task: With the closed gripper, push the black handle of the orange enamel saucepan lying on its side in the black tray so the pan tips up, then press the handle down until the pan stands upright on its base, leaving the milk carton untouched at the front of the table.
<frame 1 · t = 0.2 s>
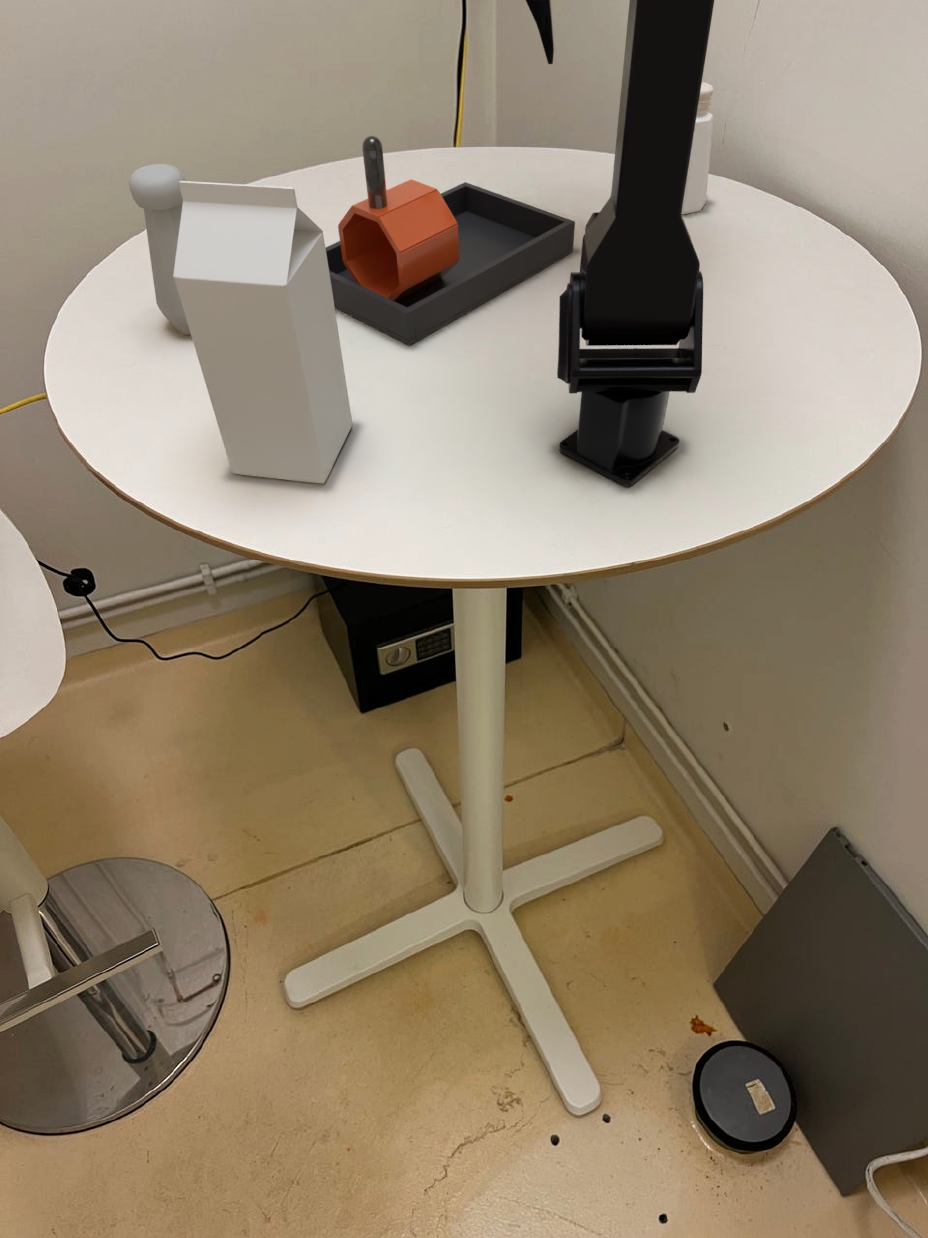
hand: (603, 60, 73), 15 cm above the table, tool pointing down, fingers open, 9 cm apart
milk carton: (294, 452, 63), on the table
pepper shaker: (679, 205, 89), on the table
pot: (397, 225, 74), point 6 cm above the table, hinge at 90.0°, touching black tray
black tray: (440, 271, 81), on the table
salt shaker: (198, 325, 76), on the table
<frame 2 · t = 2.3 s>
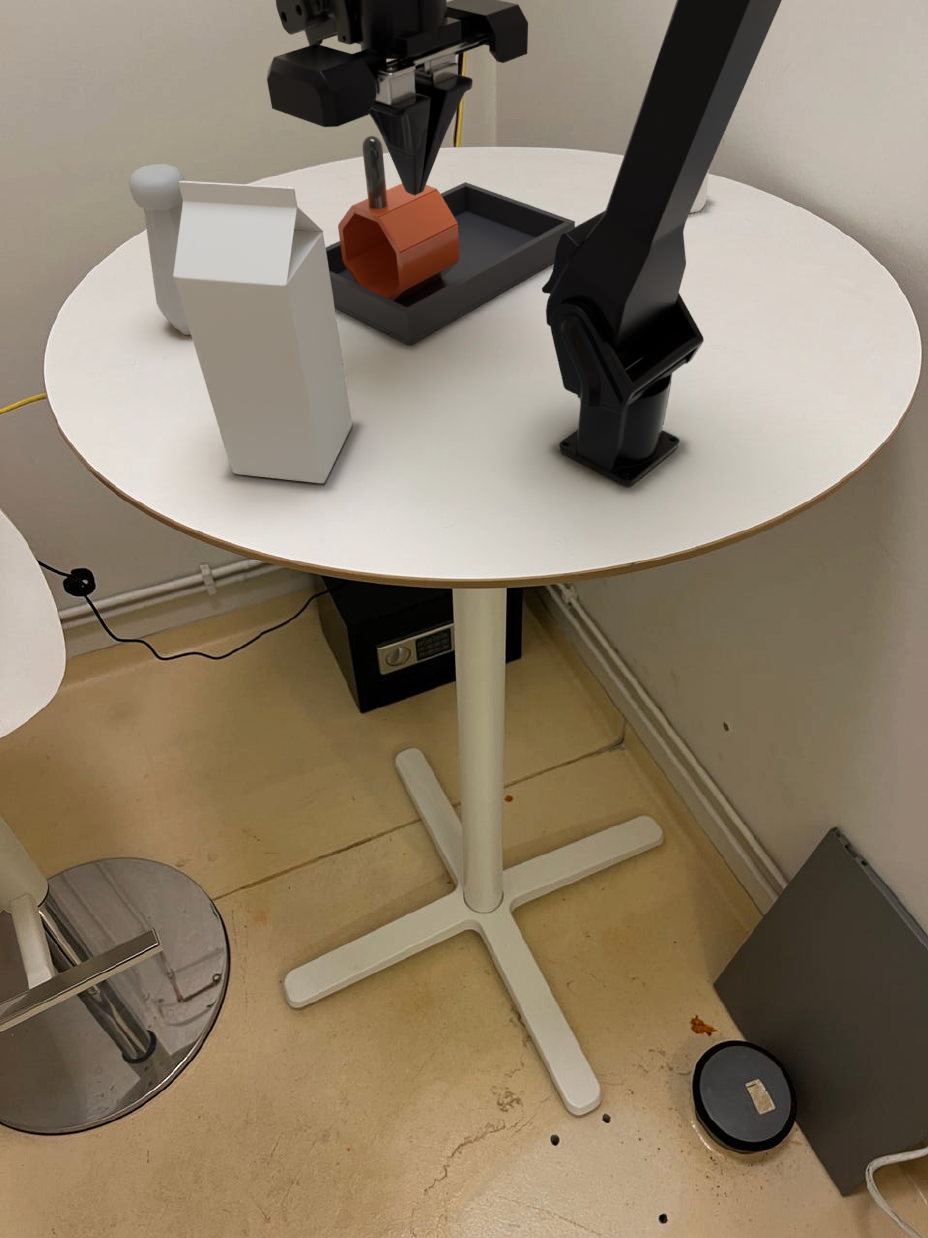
hand: (414, 192, 62), 13 cm above the table, tool pointing down, fingers closed
nothing on the table moved.
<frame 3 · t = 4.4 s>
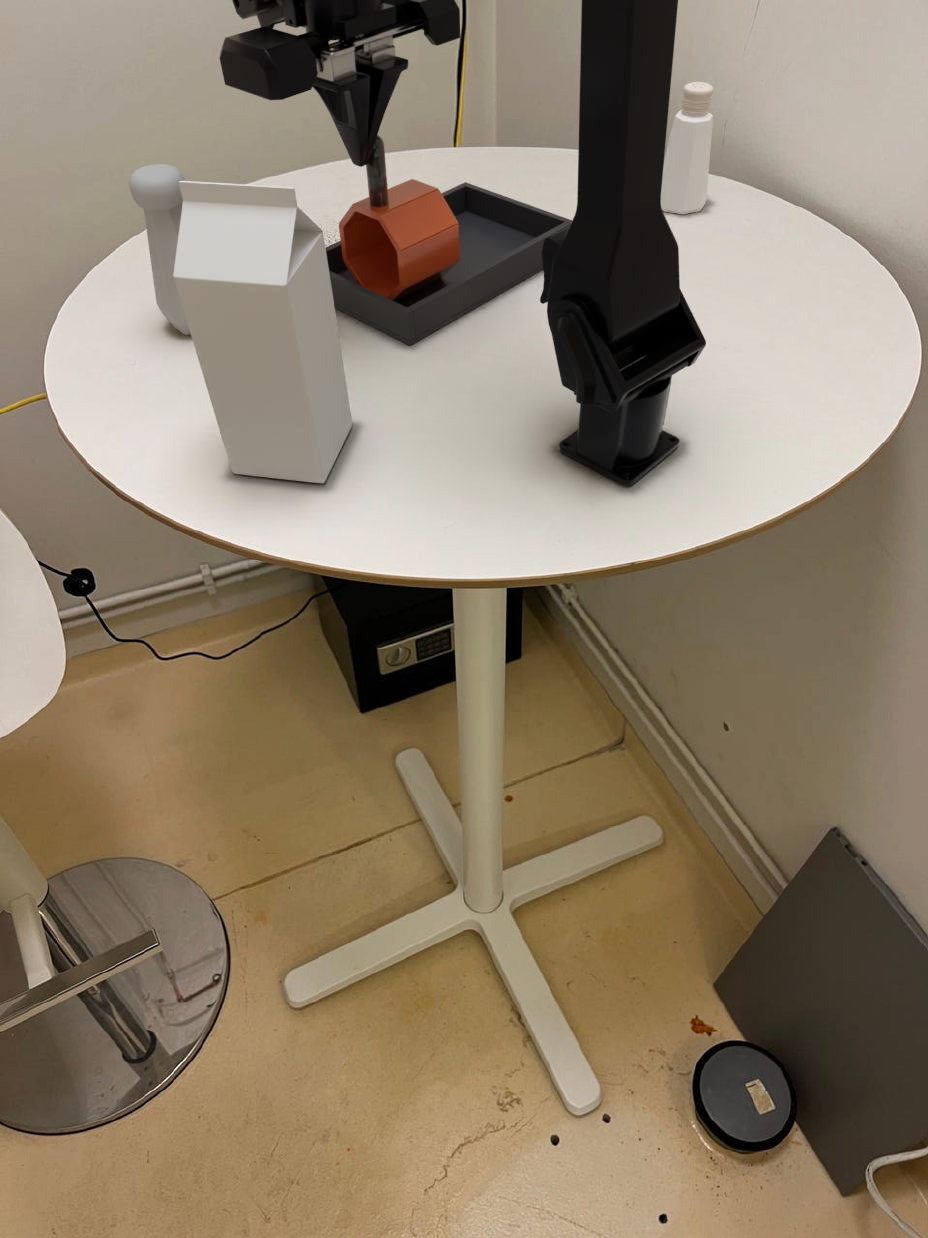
hand: (360, 164, 68), 12 cm above the table, tool pointing down, fingers closed
pot: (398, 224, 74), point 6 cm above the table, hinge at 89.0°, touching gripper, black tray
everything else where it was.
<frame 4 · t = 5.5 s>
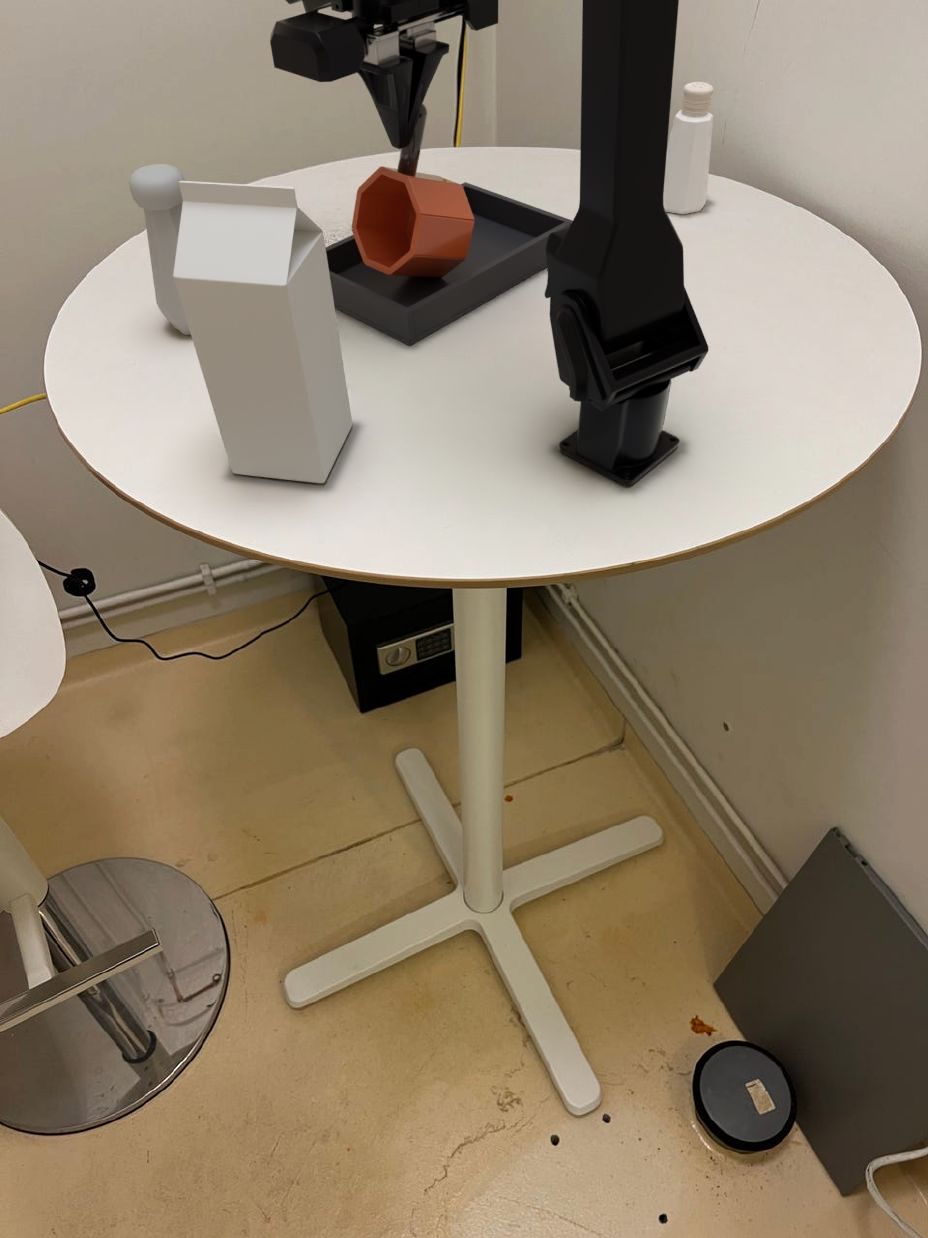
hand: (399, 146, 70), 12 cm above the table, tool pointing down, fingers closed
pot: (416, 206, 74), point 7 cm above the table, hinge at 67.4°, touching gripper
everything else where it was.
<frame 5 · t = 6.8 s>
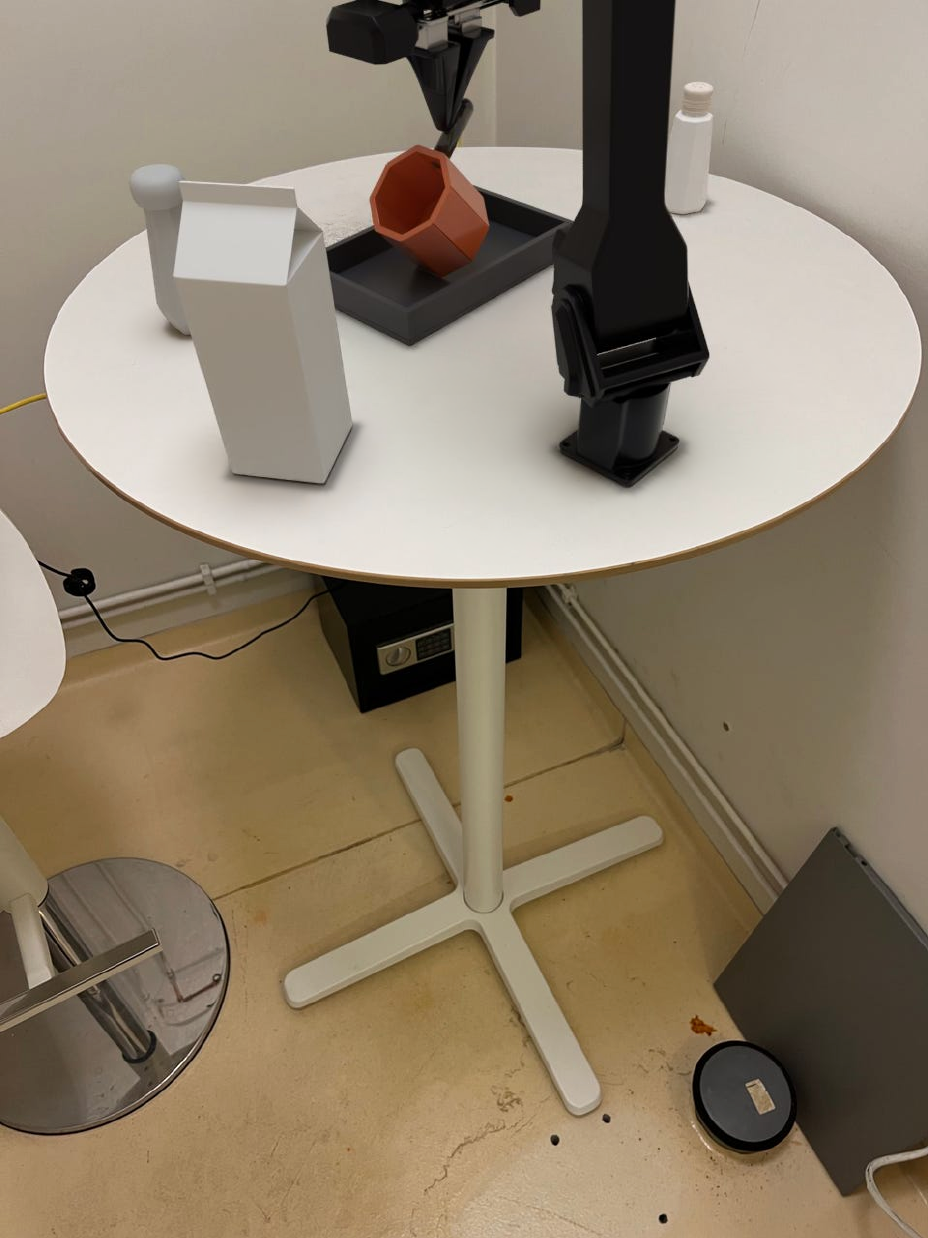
hand: (443, 129, 72), 12 cm above the table, tool pointing down, fingers closed
pot: (438, 197, 75), point 7 cm above the table, hinge at 43.3°, touching gripper, black tray
everything else where it was.
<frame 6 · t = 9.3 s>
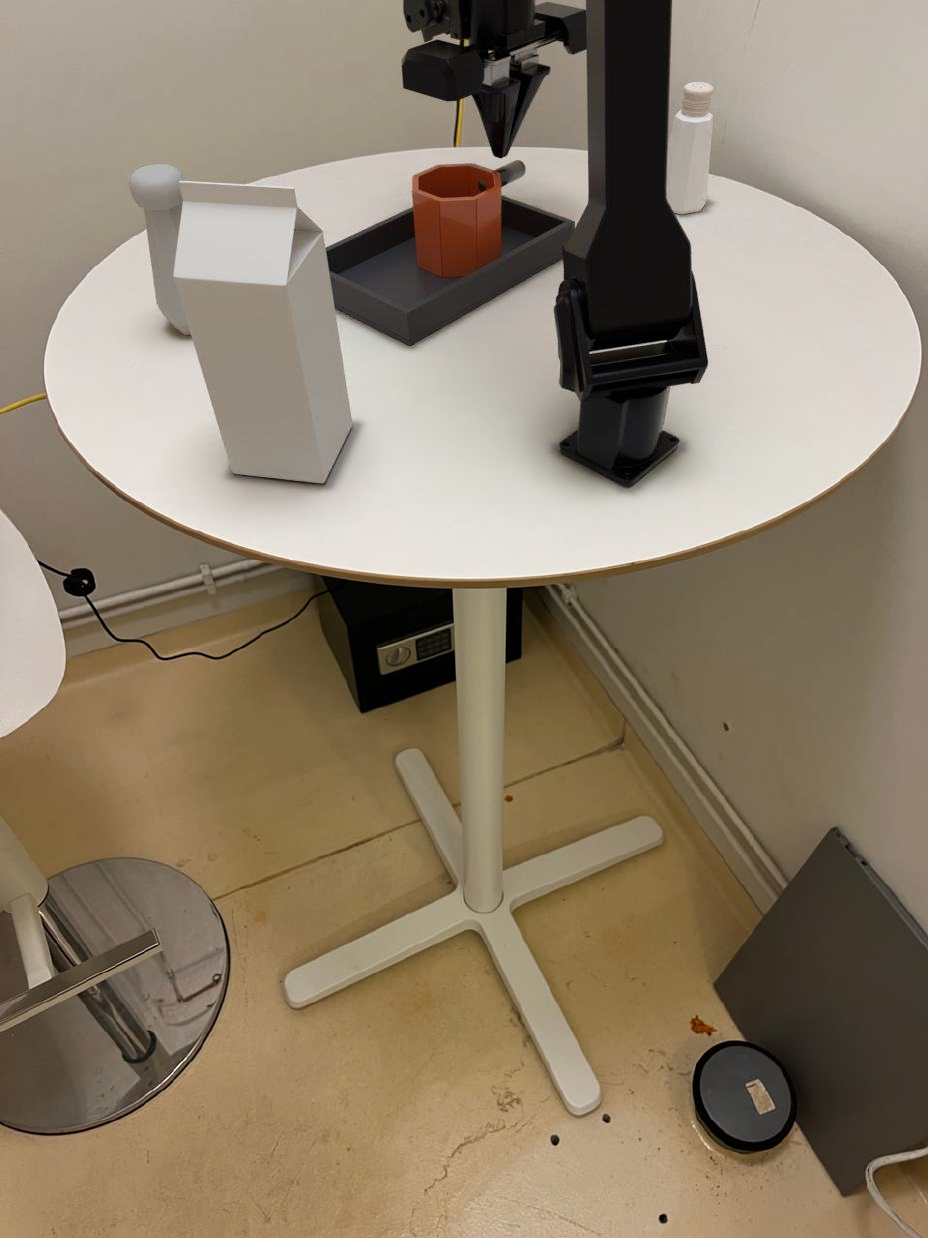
hand: (500, 156, 79), 8 cm above the table, tool pointing down, fingers closed
pot: (468, 214, 79), point 4 cm above the table, hinge at 0.0°, touching black tray
everything else where it was.
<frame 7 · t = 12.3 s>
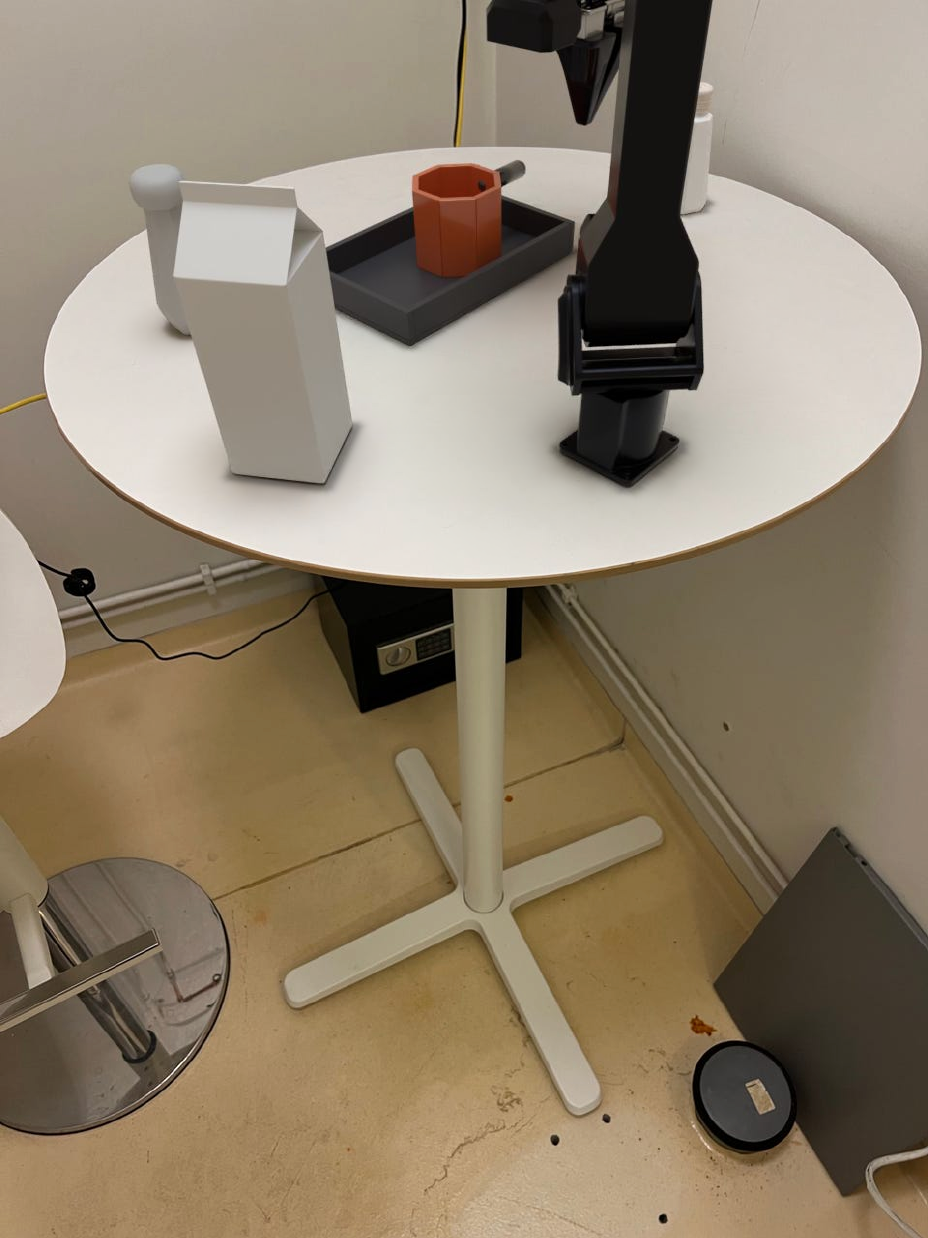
hand: (583, 123, 71), 13 cm above the table, tool pointing down, fingers closed
nothing on the table moved.
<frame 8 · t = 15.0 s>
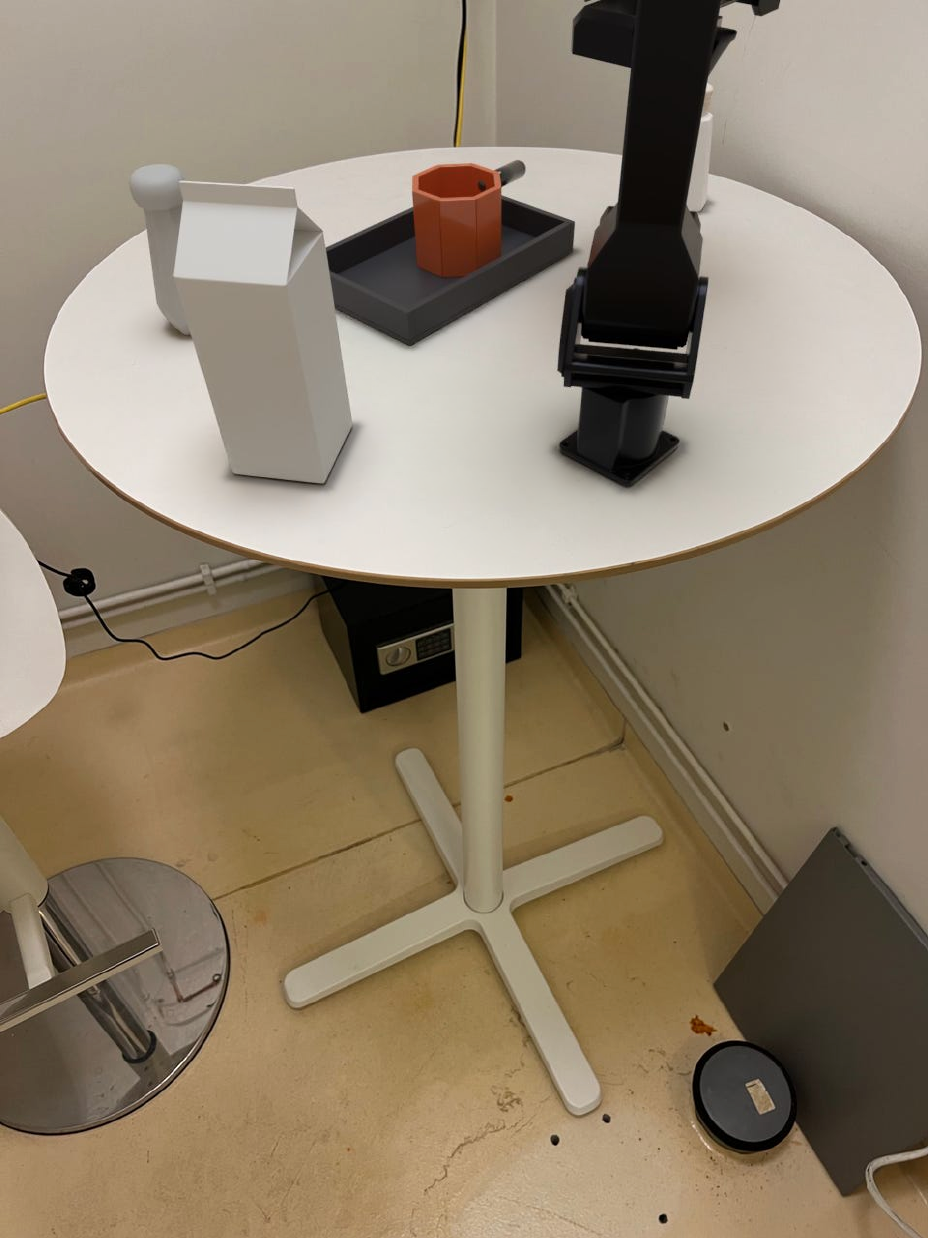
hand: (664, 137, 67), 13 cm above the table, tool pointing down, fingers closed
nothing on the table moved.
at the end: pot at +0° (first picture: +90°); milk carton moved 0.2 cm from its start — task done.
